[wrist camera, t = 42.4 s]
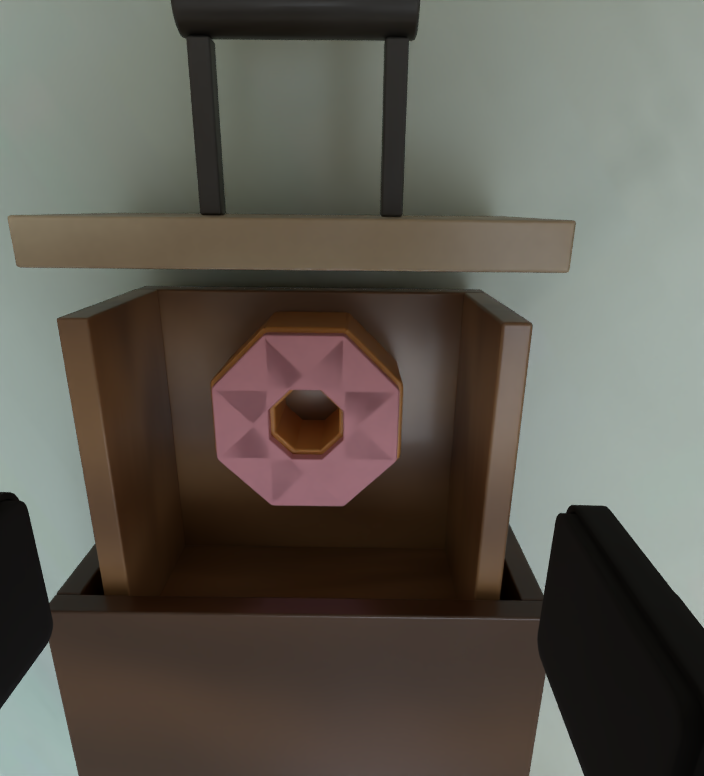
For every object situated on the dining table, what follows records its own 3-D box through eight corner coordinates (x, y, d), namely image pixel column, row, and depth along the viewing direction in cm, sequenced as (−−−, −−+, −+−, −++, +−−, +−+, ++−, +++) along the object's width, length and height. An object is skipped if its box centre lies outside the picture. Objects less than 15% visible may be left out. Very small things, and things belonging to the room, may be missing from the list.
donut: (235, 466, 20) (216, 509, 17) (225, 310, 18) (200, 329, 15) (393, 468, 20) (399, 511, 17) (399, 312, 18) (407, 331, 15)
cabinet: (147, 475, 23) (41, 611, 15) (488, 480, 22) (555, 618, 15) (179, 728, 27) (111, 929, 20) (462, 732, 27) (503, 935, 20)
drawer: (94, 19, 16) (-53, -88, 10) (524, 22, 16) (619, -83, 10) (161, 544, 23) (91, 664, 17) (473, 548, 23) (514, 669, 17)
